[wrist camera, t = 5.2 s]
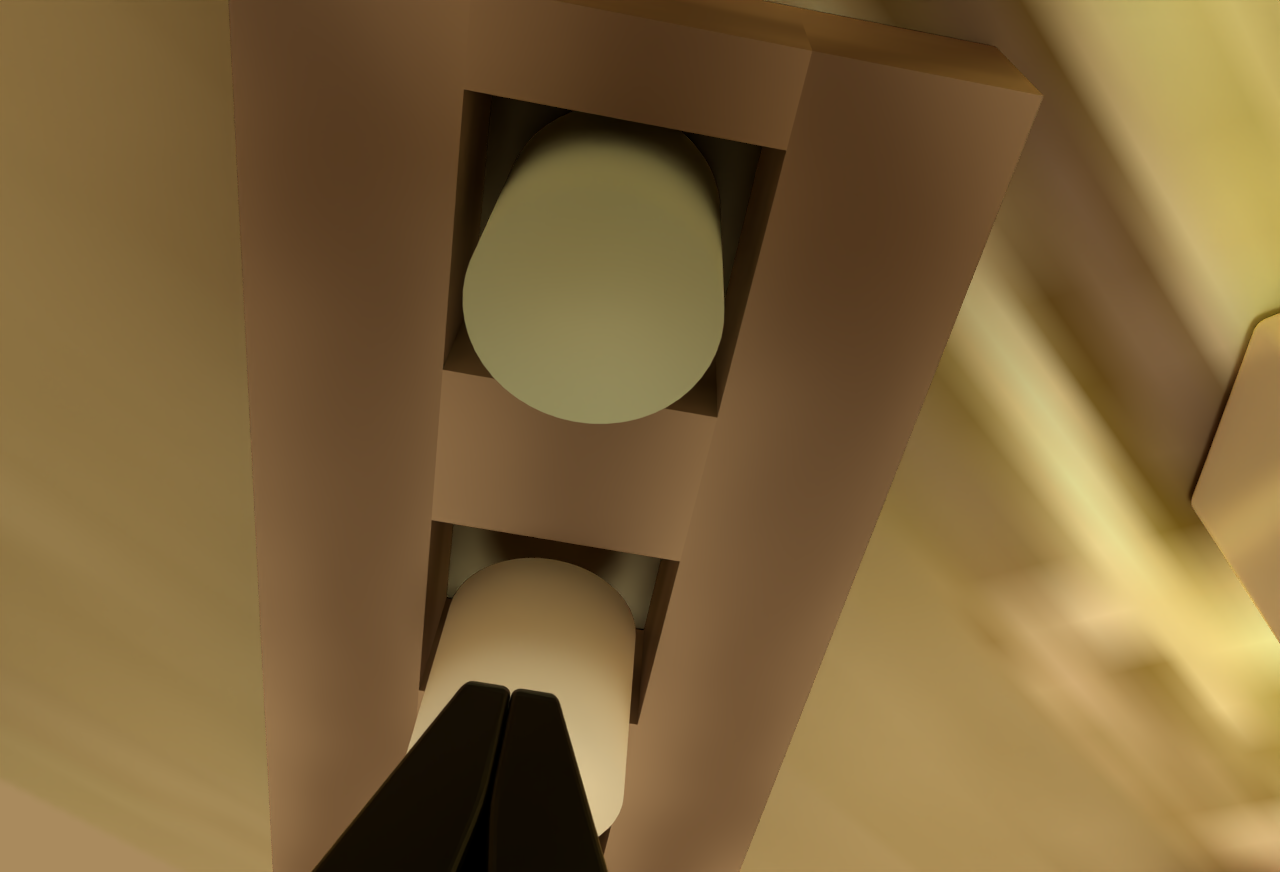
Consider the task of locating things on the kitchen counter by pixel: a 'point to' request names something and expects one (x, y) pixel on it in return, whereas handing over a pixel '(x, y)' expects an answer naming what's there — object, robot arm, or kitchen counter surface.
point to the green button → (600, 271)
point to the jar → (1249, 475)
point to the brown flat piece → (573, 451)
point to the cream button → (547, 659)
